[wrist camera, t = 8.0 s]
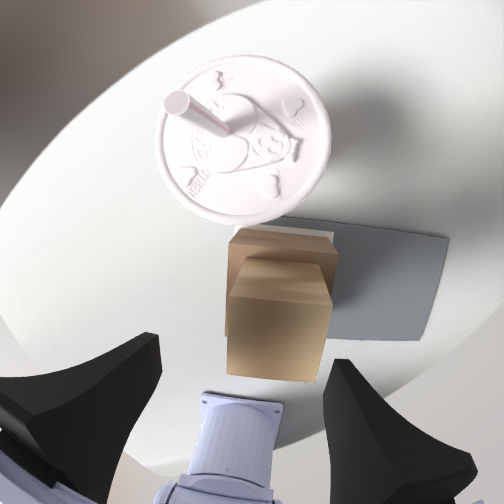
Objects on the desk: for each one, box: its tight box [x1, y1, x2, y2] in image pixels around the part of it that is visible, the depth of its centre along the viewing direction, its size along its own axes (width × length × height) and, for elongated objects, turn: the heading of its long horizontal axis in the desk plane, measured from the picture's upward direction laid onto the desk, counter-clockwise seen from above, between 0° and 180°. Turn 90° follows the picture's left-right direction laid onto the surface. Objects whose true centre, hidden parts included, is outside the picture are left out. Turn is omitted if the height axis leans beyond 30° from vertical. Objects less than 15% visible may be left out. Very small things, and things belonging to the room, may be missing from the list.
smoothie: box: [154, 55, 332, 225], centre depth 11 cm, size 6×6×14 cm
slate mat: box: [234, 217, 449, 341], centre depth 20 cm, size 9×16×1 cm, turn 86°
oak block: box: [227, 257, 333, 382], centre depth 13 cm, size 4×4×5 cm
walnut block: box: [225, 229, 338, 337], centre depth 18 cm, size 6×6×4 cm
